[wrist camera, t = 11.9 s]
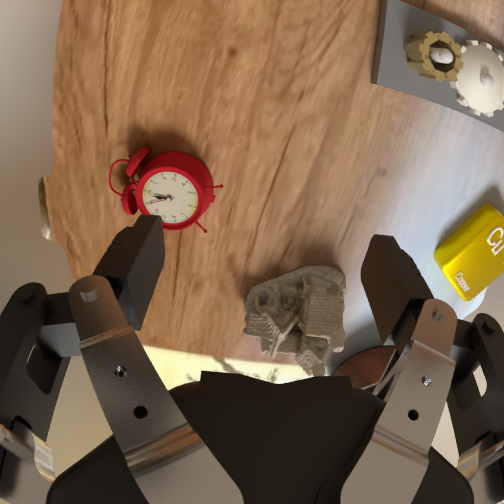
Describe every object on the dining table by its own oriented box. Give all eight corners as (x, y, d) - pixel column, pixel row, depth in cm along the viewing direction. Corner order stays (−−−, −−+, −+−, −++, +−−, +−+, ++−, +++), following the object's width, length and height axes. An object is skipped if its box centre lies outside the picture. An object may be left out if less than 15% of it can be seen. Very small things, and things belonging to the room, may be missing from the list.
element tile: (428, 252, 46) (440, 270, 42) (487, 197, 39) (503, 211, 35) (457, 290, 52) (467, 306, 48) (508, 244, 45) (520, 259, 41)
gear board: (381, -2, 24) (407, -11, 18) (513, 63, 25) (545, 72, 19) (370, 82, 31) (395, 90, 25) (501, 130, 32) (531, 147, 26)
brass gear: (407, 24, 24) (422, 22, 21) (448, 41, 24) (466, 42, 21) (400, 69, 28) (415, 72, 25) (442, 84, 28) (459, 89, 25)
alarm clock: (206, 245, 42) (97, 226, 36) (203, 219, 46) (106, 202, 41) (230, 177, 36) (106, 153, 30) (224, 158, 40) (116, 135, 35)
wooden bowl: (348, 400, 77) (353, 432, 69) (304, 369, 66) (307, 408, 57) (428, 364, 67) (439, 396, 59) (404, 321, 56) (419, 361, 48)
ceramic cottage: (358, 277, 49) (375, 350, 37) (310, 333, 58) (311, 400, 46) (275, 242, 46) (270, 318, 34) (236, 308, 56) (223, 378, 44)
